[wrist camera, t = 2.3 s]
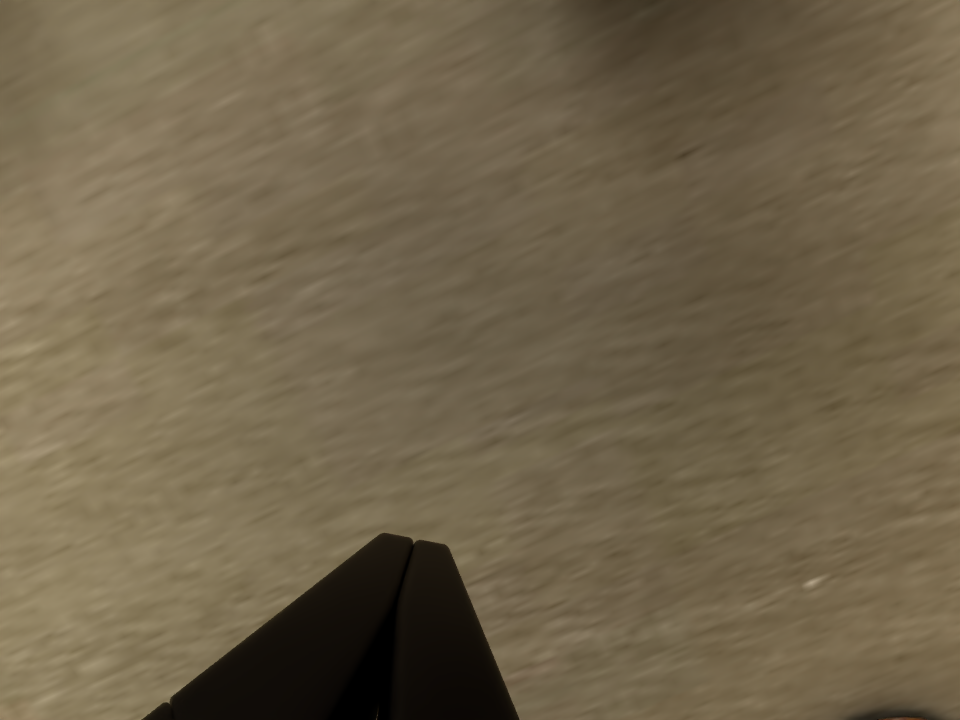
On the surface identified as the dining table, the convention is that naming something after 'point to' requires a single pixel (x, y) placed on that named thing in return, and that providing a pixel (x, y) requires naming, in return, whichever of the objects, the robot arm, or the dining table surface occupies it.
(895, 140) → the dining table surface
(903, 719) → the sauce bottle
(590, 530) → the dining table surface
